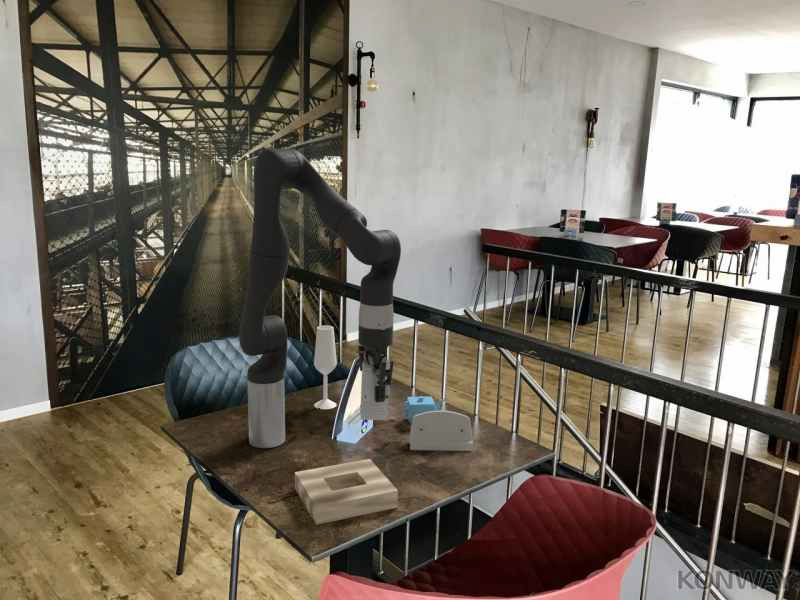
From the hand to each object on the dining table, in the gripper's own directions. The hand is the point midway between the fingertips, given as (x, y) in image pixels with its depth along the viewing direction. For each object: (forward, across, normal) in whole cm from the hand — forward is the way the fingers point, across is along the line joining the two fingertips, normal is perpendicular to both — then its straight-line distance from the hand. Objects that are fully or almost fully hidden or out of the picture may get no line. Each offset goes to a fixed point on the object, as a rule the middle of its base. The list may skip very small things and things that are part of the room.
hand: (374, 396), depth 145 cm
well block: (+21, +4, -8) cm, 23 cm away
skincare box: (+5, 0, 0) cm, 5 cm away
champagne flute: (+22, -50, +6) cm, 55 cm away
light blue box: (+22, -28, +28) cm, 45 cm away
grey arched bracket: (+22, -13, +25) cm, 35 cm away
